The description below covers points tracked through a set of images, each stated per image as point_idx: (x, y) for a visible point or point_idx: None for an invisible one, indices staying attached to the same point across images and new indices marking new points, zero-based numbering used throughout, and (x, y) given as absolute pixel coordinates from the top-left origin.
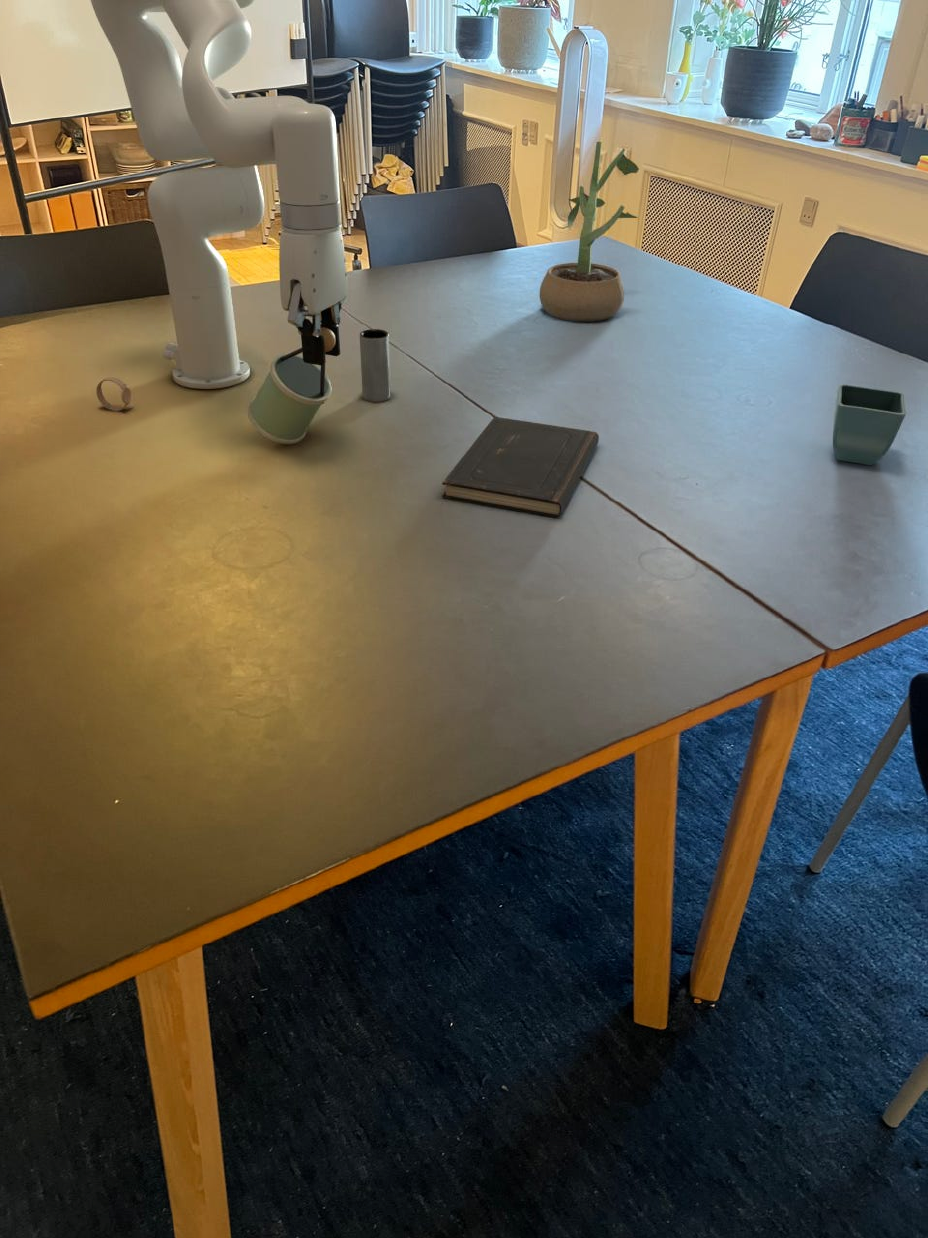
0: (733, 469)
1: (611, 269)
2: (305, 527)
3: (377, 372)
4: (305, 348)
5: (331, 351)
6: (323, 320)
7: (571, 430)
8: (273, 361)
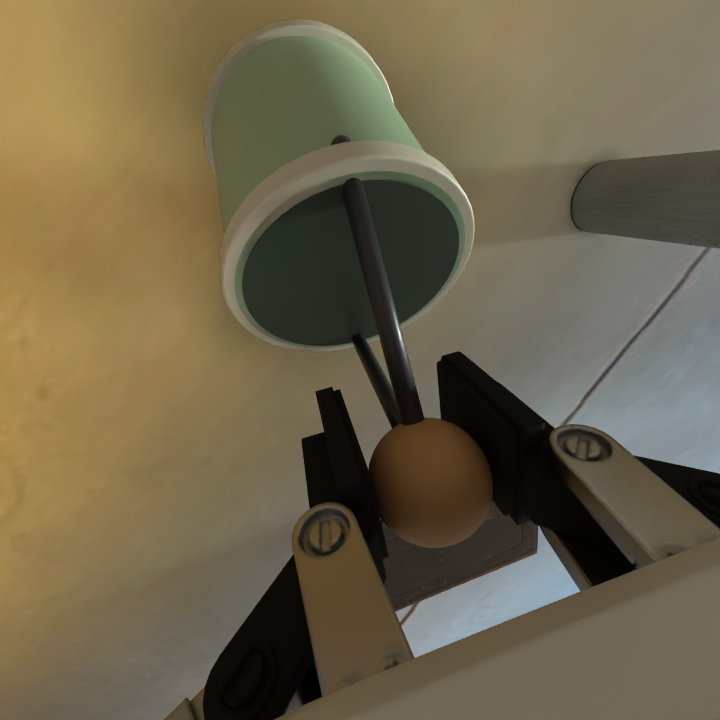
0: (522, 613)
1: None
2: (70, 485)
3: (637, 229)
4: (306, 470)
5: (447, 420)
6: (547, 487)
7: (531, 538)
8: (285, 190)
